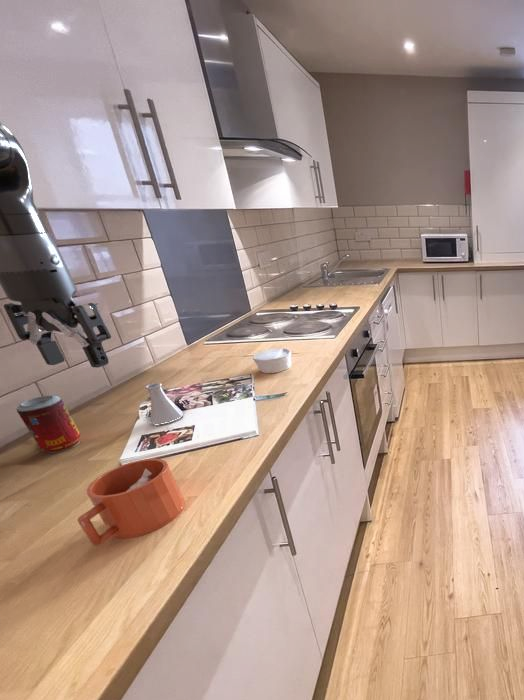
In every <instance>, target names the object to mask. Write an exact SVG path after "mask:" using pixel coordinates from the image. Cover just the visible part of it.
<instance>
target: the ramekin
mask: <svg viewBox="0 0 524 700" xmlns="http://www.w3.org/2000/svg"><path fill="white" fill-rule="evenodd" d="M252 359H253V362H255V364H256V365H255V366H257V369H258V370H259V371H260V372H262V373H264V374H276V373H280V372H281V373H282V372H284V371H287V370H288V369H289V368H290V367H291V365H292V352H291V349H288V348H281V347H280V348H270V349H265V350H262V351H259V352H257V353H255V354H254V355H253V356H252Z"/></svg>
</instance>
